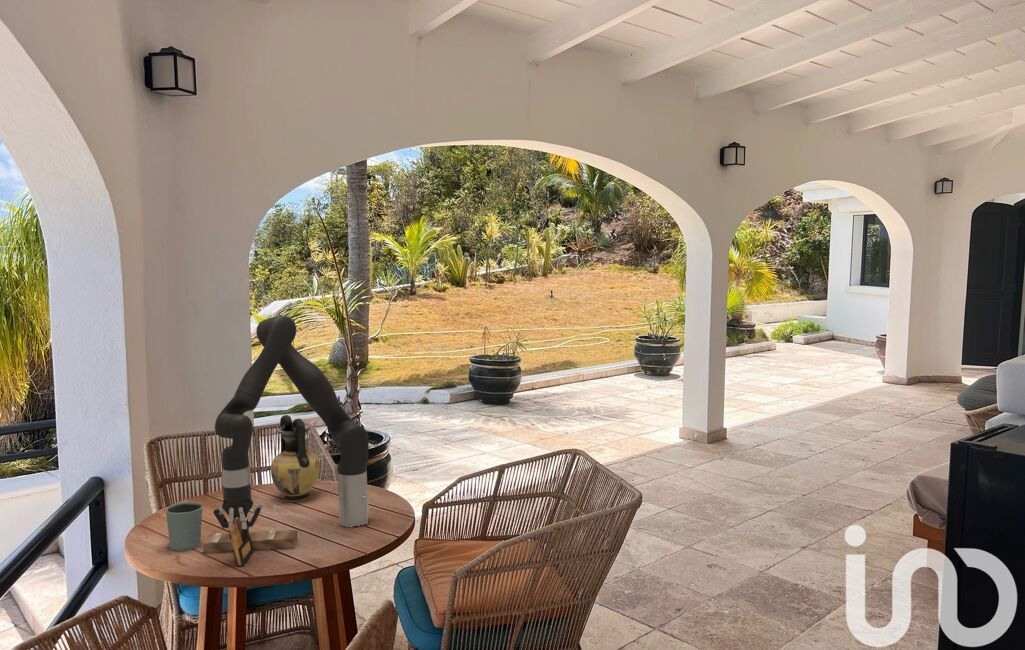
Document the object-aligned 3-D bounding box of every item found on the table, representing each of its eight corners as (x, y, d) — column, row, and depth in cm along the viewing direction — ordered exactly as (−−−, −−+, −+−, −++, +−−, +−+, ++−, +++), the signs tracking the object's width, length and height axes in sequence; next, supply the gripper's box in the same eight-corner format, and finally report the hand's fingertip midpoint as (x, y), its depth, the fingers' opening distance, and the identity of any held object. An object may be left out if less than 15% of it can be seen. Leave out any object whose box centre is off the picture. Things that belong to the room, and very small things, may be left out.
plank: (297, 539, 228) (297, 529, 228) (293, 548, 221) (293, 537, 221) (210, 544, 225) (209, 533, 225) (203, 553, 218) (202, 542, 218)
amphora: (261, 499, 265) (258, 417, 262) (300, 487, 279) (297, 409, 276) (292, 509, 255) (288, 424, 252) (331, 496, 268) (328, 415, 265)
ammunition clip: (243, 565, 208) (232, 525, 207) (236, 567, 208) (226, 527, 207) (254, 550, 219) (244, 512, 218) (248, 551, 219) (238, 513, 218)
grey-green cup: (163, 545, 224) (160, 507, 223) (196, 536, 231) (194, 499, 230) (175, 555, 217) (173, 515, 216) (209, 545, 224) (207, 507, 223)
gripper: (264, 477, 216) (267, 534, 217) (215, 479, 214) (218, 537, 216) (258, 485, 208) (261, 544, 210) (207, 487, 207) (210, 547, 208)
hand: (239, 540), depth 213 cm, fingers closed on ammunition clip, 2 cm apart
